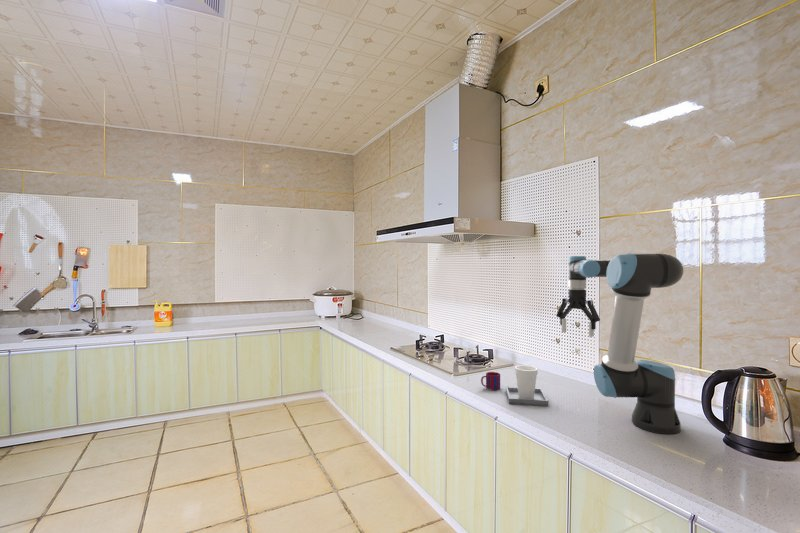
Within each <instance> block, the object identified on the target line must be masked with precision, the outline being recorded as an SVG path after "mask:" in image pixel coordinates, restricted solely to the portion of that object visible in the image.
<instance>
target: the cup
mask: <svg viewBox="0 0 800 533" xmlns="http://www.w3.org/2000/svg"><path fill="white" fill-rule="evenodd" d="M484 378H485V384H484V381H483V380H484ZM480 383H481V385H482V386H483V387H485V388H486V389H487V390H490V391H498V390H500V389H501V373H500V372H494V371H488V372H486V373H485V375H482V377H481V379H480Z"/></svg>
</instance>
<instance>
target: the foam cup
mask: <svg viewBox="0 0 800 533" xmlns="http://www.w3.org/2000/svg"><path fill="white" fill-rule="evenodd" d="M514 373H515V380H516V386H517V388H518V394H519V397H520V398H522V399H533V398H534V392H535V388H536V385H537V379H538V377H537V376H538V368H537V367H536V366H533V365H525V364H524V365H521V364H520V365H515V367H514Z"/></svg>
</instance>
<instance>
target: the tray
mask: <svg viewBox="0 0 800 533" xmlns="http://www.w3.org/2000/svg"><path fill="white" fill-rule="evenodd" d="M505 394H506V397H507V401H508V405H521V406H522V405H526V406H540V407H542V406H543V407H549V399H548V398H547V396H546V393H545V392H544V391H543V388H536V387H535V392H534V398H533V399H522V398H520V397H519V394H518V387H514V386H505Z"/></svg>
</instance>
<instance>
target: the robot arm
mask: <svg viewBox="0 0 800 533" xmlns="http://www.w3.org/2000/svg"><path fill="white" fill-rule="evenodd" d="M567 264H568V298H567V297H564V298H562V300H561V301H562V302H561V304H560V307H559V309H558V310H557V313H556V318H559V322H560V326H561V333H563V334H564V333H567V318H566V317H567V316H568V314H569V313H570V312H571V311H572V310H581V311H582V312H583V313H584V314H585V316H586V317H587V319H588V320H589V322H588V338H589V337H590V338H593V337H595V330H596V327H597V326H596V325H597V322H600V321H601V318H600V316H599V314H598V312H597V310H596V308H595V306H594V301H593V300H592V299H589V300H587V299H586V298H587V278H606V283H607V284H608V286H609V287H610V288H611V291H612V293H614V295H615V297H614V307H613V313H612V319H611V328H610V334H609V342H608V349H607V353H606V355H604V356H602V358H601V363H597V364H595V366H594V367H593V377H594V378H593V379H594V383H595V385H596V388H597V389H598V392H599V393H600V394H601V395H603V396H604V397H606V398H607V397H609V398H614V399H616V398H636V403H635V406H634V407H633V408H634V409H633V411H632V413H631V423H632V424H633V425H634V426H636V427H637V428H640V429H643V430H645V431H648V432H652V433H656V434H665V435H675V434H679V433H680V432H681V429H682V425H681V421H680V418H679V415H678V412H677V410H676V407H675V406H676V403H675V401H676V400H675V399H676V393H675V392H676V375H675V374H676V373H675V370H674V368H673V367H671V366H669V365H668V364H665V363H661V362H657V361H654V360H647V359H639V360H637V361H636V360H635V358H636V350H637V344H638V339H639V332H640V327H641V326H640V325H641V322H642V315H643V308H644V301H645V299H647V298H648V297H650V296H651V292H652V289H660V288H667V287H671V286H674V285H675V284H677V283H678V282H680V280H681V279H682V278H683V275H684V266H683V264H682V262H681V261H680V260H679V259H678V258H677V257H676V256H673V255H671V254H667V253H632V252H629V253H621V254H620V253H619V254H617V255H615V256H614V257H612V258H611V259H587V257H586V256H585V255H571V256H569V257H568V263H567ZM586 305H587V306H586Z"/></svg>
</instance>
